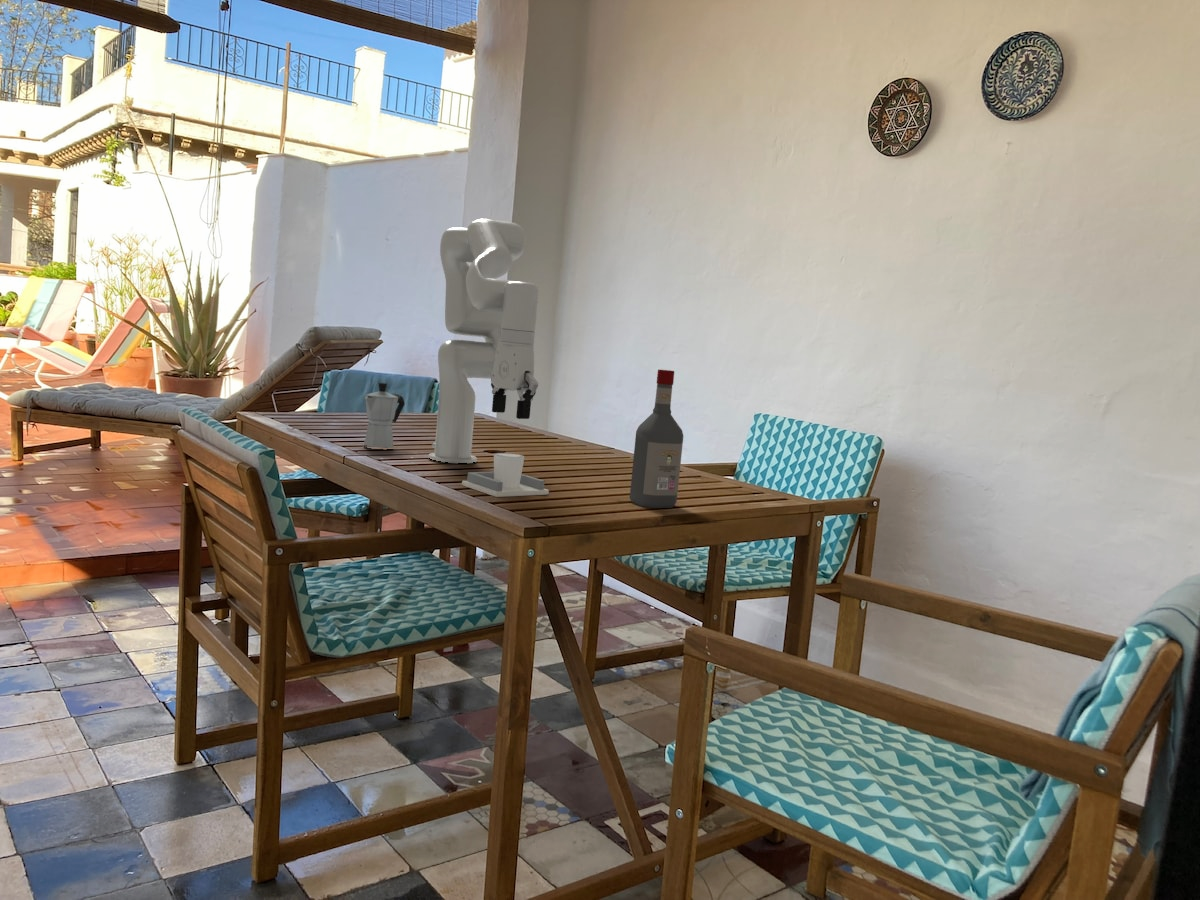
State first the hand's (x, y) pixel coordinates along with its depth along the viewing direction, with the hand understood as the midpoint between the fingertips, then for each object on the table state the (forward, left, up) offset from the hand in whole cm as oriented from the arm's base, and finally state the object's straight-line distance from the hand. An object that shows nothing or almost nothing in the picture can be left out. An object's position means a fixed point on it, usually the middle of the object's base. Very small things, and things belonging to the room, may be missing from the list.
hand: (510, 415), depth 209 cm
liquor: (+22, +25, -17) cm, 38 cm away
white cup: (+1, 0, -16) cm, 16 cm away
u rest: (0, 0, -17) cm, 17 cm away
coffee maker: (-63, +1, -17) cm, 65 cm away
